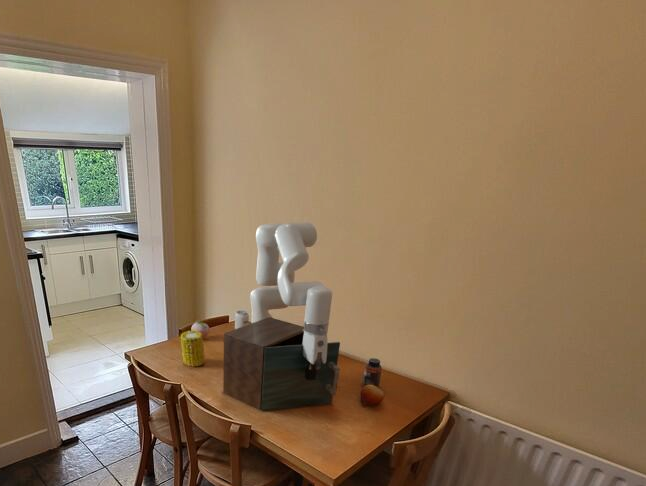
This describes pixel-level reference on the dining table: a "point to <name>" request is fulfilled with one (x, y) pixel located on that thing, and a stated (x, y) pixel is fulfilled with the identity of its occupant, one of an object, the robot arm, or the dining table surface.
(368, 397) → the fruit
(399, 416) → the dining table surface
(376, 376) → the supplement bottle
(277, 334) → the cupboard
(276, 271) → the robot arm
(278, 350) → the door
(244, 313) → the beverage can
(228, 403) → the dining table surface
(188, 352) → the food
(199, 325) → the decorative fruit
